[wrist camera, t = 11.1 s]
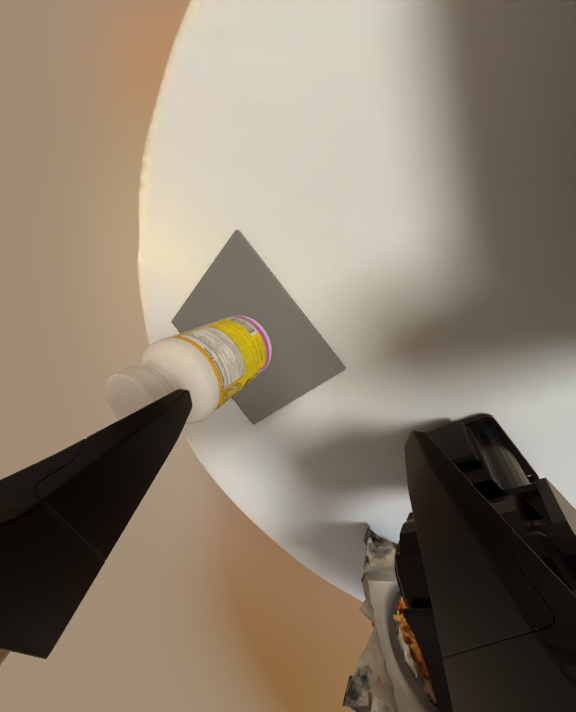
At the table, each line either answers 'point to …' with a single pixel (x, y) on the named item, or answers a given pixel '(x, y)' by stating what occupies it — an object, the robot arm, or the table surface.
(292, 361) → the mat
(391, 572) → the grey irregular piece
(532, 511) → the robot arm
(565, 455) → the table surface
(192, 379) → the supplement bottle
